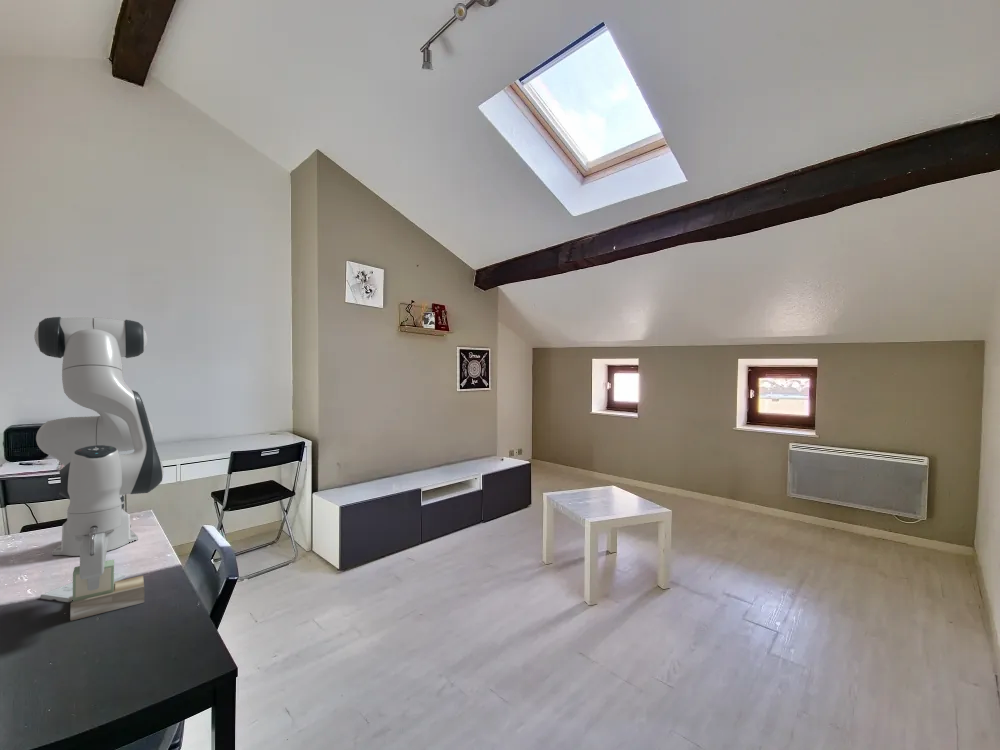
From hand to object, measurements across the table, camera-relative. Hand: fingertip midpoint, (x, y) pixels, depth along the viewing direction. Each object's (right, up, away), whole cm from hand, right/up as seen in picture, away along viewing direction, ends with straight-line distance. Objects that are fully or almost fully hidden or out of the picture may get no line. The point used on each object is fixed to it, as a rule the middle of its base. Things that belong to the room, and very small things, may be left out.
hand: (94, 583), depth 97 cm
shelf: (0, -5, +4) cm, 7 cm away
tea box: (0, -2, 0) cm, 2 cm away
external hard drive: (-11, -6, +10) cm, 16 cm away
